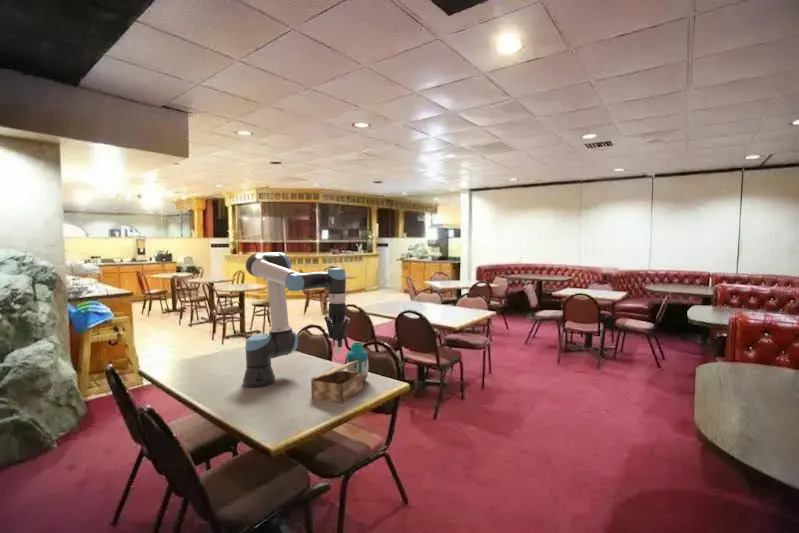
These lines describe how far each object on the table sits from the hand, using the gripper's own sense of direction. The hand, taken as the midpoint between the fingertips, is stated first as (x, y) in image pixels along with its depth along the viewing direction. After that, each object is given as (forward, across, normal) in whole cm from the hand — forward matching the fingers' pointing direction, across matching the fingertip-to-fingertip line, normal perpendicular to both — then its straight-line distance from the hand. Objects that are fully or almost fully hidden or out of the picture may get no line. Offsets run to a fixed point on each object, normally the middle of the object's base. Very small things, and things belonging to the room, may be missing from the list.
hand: (337, 353), depth 183 cm
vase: (+19, 0, +18) cm, 26 cm away
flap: (+8, -1, 0) cm, 8 cm away
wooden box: (+19, 0, 0) cm, 19 cm away
